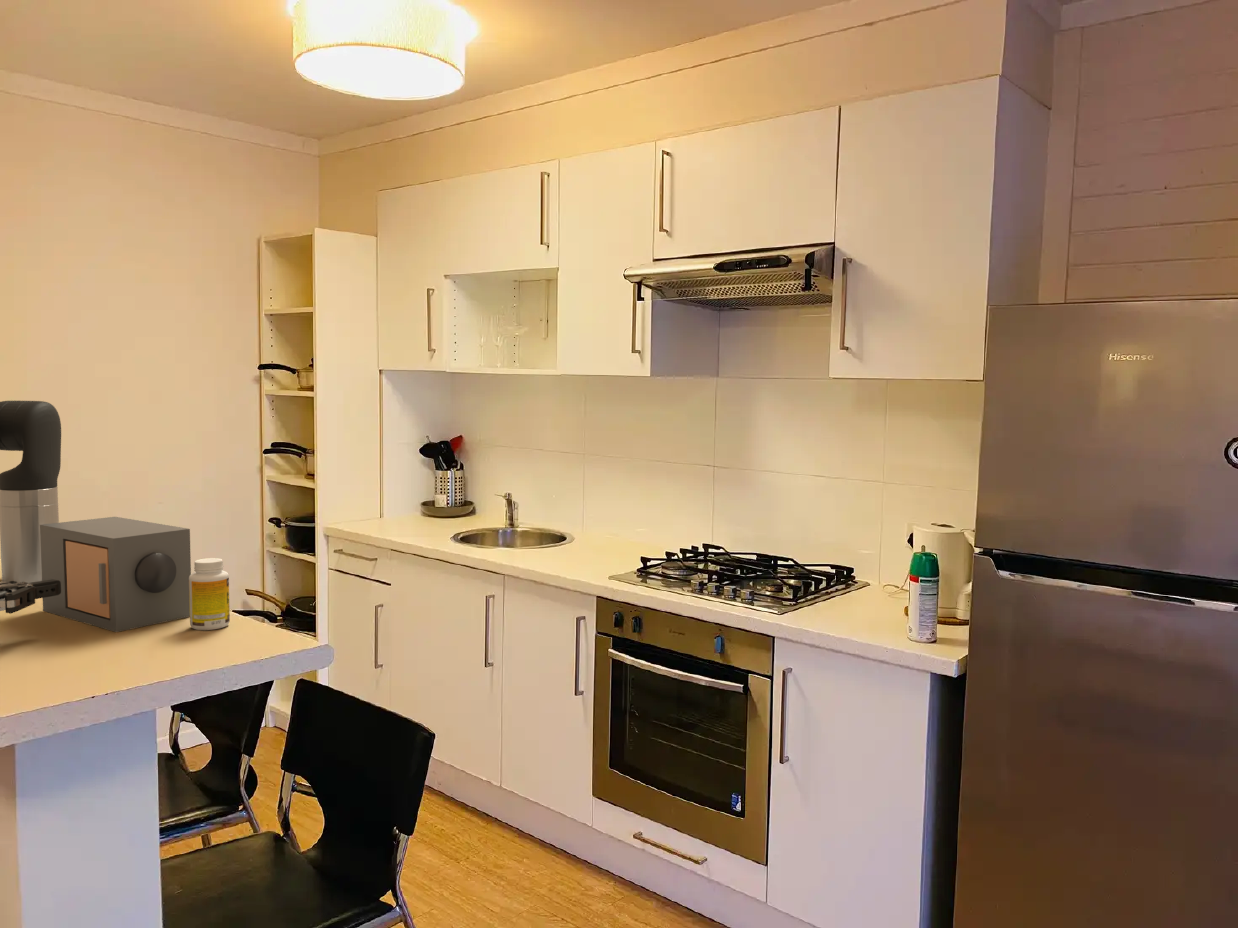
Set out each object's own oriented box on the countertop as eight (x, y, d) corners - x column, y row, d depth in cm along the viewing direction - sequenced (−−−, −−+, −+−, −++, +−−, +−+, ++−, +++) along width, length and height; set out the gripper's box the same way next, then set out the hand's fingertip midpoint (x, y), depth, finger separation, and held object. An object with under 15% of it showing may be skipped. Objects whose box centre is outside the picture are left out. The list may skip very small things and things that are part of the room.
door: (63, 607, 144) (61, 541, 143) (74, 605, 145) (72, 540, 145) (105, 619, 137) (103, 549, 137) (116, 616, 139) (113, 548, 138)
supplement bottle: (234, 627, 141) (233, 561, 140) (195, 633, 137) (194, 565, 136) (223, 620, 145) (222, 555, 144) (185, 625, 141) (184, 559, 141)
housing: (43, 610, 149) (39, 524, 148) (117, 597, 159) (115, 516, 158) (119, 633, 137) (116, 539, 135) (195, 617, 147) (193, 529, 145)
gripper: (-61, 588, 117) (80, 566, 132) (-104, 575, 125) (35, 556, 139) (-58, 645, 118) (82, 618, 132) (-101, 629, 125) (37, 605, 140)
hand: (58, 586), depth 136 cm, fingers closed
